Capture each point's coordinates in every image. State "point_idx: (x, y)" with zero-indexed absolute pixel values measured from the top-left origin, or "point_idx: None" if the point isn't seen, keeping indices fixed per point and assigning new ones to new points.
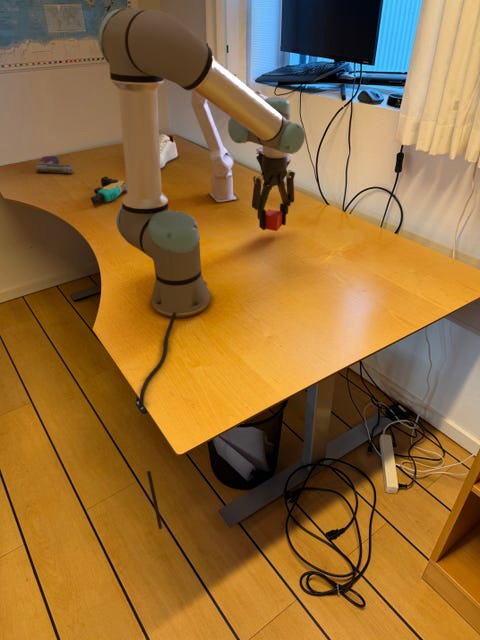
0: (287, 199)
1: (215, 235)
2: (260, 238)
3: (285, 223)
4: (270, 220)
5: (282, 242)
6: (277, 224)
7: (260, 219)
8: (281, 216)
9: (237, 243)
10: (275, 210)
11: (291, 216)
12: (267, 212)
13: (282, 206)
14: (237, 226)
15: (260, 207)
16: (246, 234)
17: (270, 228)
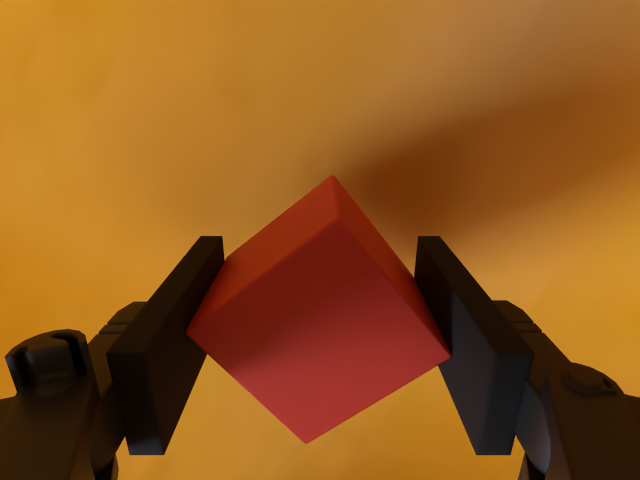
0: (11, 453)
1: None
2: None
3: (198, 241)
4: (386, 262)
5: (309, 97)
6: (324, 196)
7: (503, 304)
8: (225, 285)
9: (600, 246)
10: (253, 391)
11: None
12: (369, 385)
13: (161, 387)
14: (443, 436)
15: (627, 418)
16: None
17: (373, 226)
